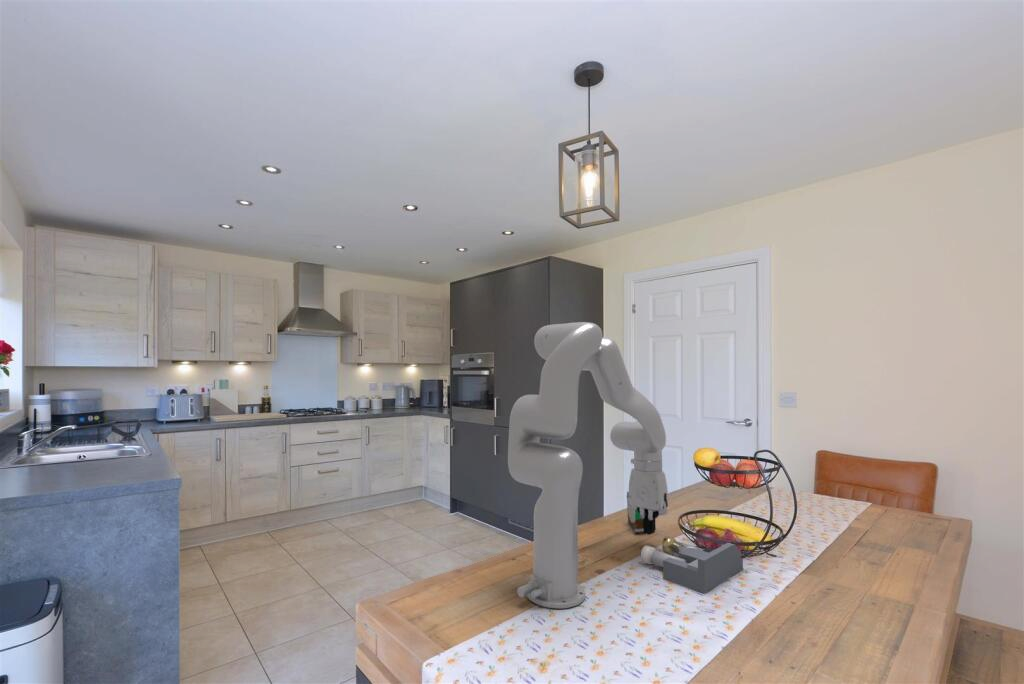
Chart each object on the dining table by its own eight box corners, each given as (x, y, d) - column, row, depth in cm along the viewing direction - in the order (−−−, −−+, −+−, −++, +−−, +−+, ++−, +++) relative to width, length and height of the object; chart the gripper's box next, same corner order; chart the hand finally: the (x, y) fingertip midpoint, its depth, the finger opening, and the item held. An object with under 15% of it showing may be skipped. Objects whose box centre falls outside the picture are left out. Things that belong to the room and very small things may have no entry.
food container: (657, 536, 140) (656, 501, 141) (635, 536, 140) (635, 501, 141) (646, 523, 153) (645, 491, 153) (626, 523, 153) (626, 491, 153)
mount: (704, 593, 104) (704, 560, 104) (663, 578, 111) (662, 548, 112) (742, 568, 117) (742, 539, 118) (703, 557, 125) (703, 529, 125)
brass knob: (699, 565, 118) (699, 549, 119) (662, 554, 126) (662, 538, 126) (707, 561, 121) (706, 545, 121) (670, 550, 129) (669, 535, 129)
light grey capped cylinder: (679, 577, 112) (679, 559, 112) (641, 564, 119) (640, 547, 119) (687, 572, 114) (687, 555, 115) (649, 559, 122) (649, 543, 122)
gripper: (617, 463, 136) (618, 529, 135) (665, 472, 125) (667, 543, 124) (632, 459, 141) (633, 523, 140) (680, 467, 130) (681, 536, 129)
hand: (649, 532), depth 132 cm, fingers closed
